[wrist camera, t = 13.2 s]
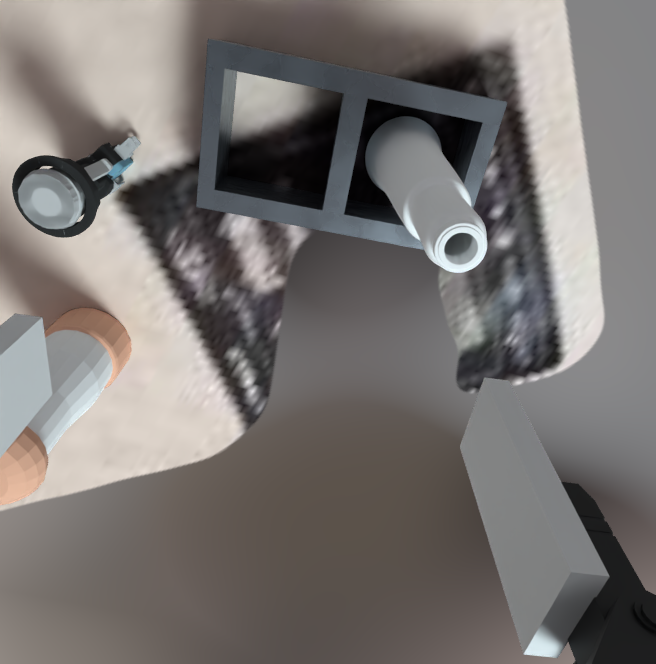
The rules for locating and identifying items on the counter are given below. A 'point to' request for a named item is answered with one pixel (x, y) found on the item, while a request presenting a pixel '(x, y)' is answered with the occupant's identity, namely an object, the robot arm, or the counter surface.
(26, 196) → the push button
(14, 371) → the robot arm
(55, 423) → the pepper shaker
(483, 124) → the square-hole rail
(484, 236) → the cosmetic bottle
